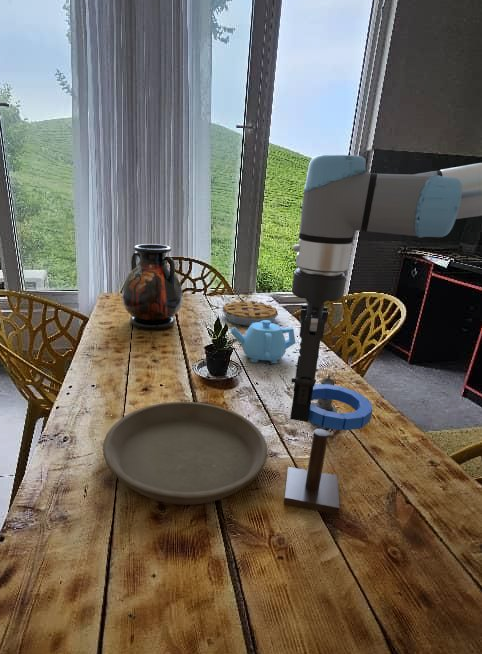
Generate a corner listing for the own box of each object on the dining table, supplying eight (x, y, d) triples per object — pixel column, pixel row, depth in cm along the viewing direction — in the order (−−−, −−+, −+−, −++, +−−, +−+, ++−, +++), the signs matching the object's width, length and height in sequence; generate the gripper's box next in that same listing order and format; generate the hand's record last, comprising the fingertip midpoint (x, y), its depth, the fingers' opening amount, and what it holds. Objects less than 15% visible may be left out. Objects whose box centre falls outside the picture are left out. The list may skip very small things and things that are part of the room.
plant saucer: (240, 539, 68) (242, 515, 66) (69, 486, 77) (67, 464, 76) (279, 437, 95) (281, 418, 93) (149, 407, 105) (149, 390, 103)
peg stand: (336, 482, 82) (347, 423, 77) (338, 515, 74) (351, 451, 69) (286, 473, 84) (295, 415, 79) (283, 504, 76) (292, 442, 71)
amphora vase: (110, 324, 160) (107, 245, 149) (149, 312, 177) (149, 240, 166) (156, 338, 149) (156, 254, 138) (193, 323, 165) (196, 247, 155)
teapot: (288, 348, 145) (292, 314, 140) (298, 369, 129) (303, 331, 125) (227, 346, 145) (229, 311, 140) (229, 366, 129) (232, 328, 125)
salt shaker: (314, 413, 106) (321, 367, 101) (338, 421, 102) (346, 374, 98) (304, 423, 101) (311, 375, 97) (328, 432, 98) (337, 383, 93)
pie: (217, 310, 183) (218, 298, 181) (269, 310, 185) (270, 299, 184) (226, 327, 163) (227, 314, 161) (284, 327, 165) (285, 314, 163)
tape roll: (365, 400, 77) (368, 390, 76) (373, 435, 66) (375, 424, 65) (296, 390, 79) (298, 379, 78) (293, 422, 69) (294, 411, 68)
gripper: (297, 256, 76) (282, 375, 84) (290, 283, 56) (271, 435, 64) (343, 260, 74) (322, 380, 83) (352, 289, 54) (324, 444, 63)
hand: (300, 404), depth 74 cm, fingers closed on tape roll, 9 cm apart
